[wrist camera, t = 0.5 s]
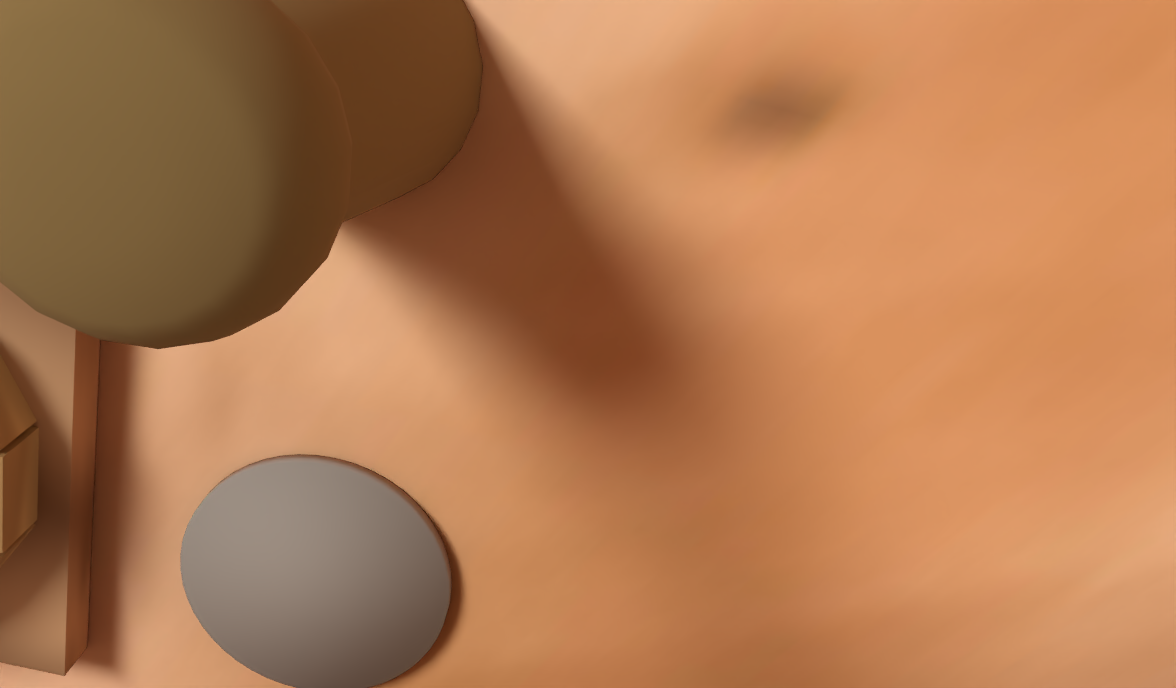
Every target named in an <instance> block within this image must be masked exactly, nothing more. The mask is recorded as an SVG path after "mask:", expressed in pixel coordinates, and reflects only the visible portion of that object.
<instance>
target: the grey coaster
mask: <svg viewBox="0 0 1176 688" xmlns="http://www.w3.org/2000/svg"><path fill="white" fill-rule="evenodd" d="M181 574H182V581H183V586H184V589H185V592H186V596H187V599H188V601H189V603H190V605H191V607H192V610H193V612H194V614H195V615H196V617H197V618H198V620H199V622H200V623H201V625H202V626H203V628H204V629H205V630H206V631H207V633H208V634H209V635H210V636H211V638H212V639H213V640H214V641H215V642H216V643H217V644H218V645H219V646H220V647H221V648H222V649H223V650H224V651H225V652H227V653H228V654H229V655H230V656H232V657H233V658H234V659H235V660H237V661H238V662H240V663H241V664H243V665H244V666H246V667H247V668H249V669H251V670H252V671H254V672H256V673H258V674H260V675H262V676H264V677H266V678H269V679H271V680H274V681H277V682H279V683H282V684H285V685H289V686H293V687H296V688H369V687H372V686H375V685H379V684H382V683H384V682H386V681H389V680H391V679H393V678H395V677H397V676H399V675H400V674H402V673H404V672H405V671H407V670H409V669H410V668H411V667H412V666H413V665H415V664H416V663H417V662H418V661H420V659H421V658H422V657H423V656H424V655H425V654H426V653H427V652H428V651H429V650H430V648H431V647H432V645H433V644H434V642H435V641H436V639H437V638H438V635H439V633H440V631H441V629H442V627H443V624H444V621H445V618H446V614H447V611H448V607H449V604H450V598H451V590H452V581H451V569H450V564H449V558H448V555H447V552H446V549H445V546H444V544H443V541H442V539H441V537H440V535H439V533H438V531H437V529H436V528H435V526H434V525H433V523H432V522H431V520H430V519H429V517H428V516H427V514H426V513H425V512H424V511H423V510H422V509H421V508H420V506H419V505H418V504H417V503H416V502H415V501H414V500H413V499H412V498H411V497H410V496H408V495H407V494H406V493H405V492H404V491H403V490H402V489H400V488H399V487H397V486H396V485H395V484H393V483H392V482H390V481H389V480H387V479H386V478H384V477H382V476H380V475H378V474H377V473H375V472H373V471H371V470H369V469H366V468H364V467H361V466H359V465H356V464H354V463H351V462H347V461H344V460H340V459H336V458H331V457H325V456H319V455H300V454H298V455H285V456H278V457H273V458H268V459H264V460H261V461H258V462H255V463H252V464H249V465H247V466H245V467H243V468H241V469H239V470H237V471H235V472H233V473H232V474H230V475H229V476H228V477H226V478H225V479H223V480H222V481H221V482H220V483H219V484H218V485H216V486H215V487H214V488H213V489H212V490H211V491H210V492H209V494H208V495H207V496H206V497H205V499H204V500H203V501H202V503H201V504H200V505H199V507H198V508H197V509H196V511H195V512H194V514H193V516H192V518H191V520H190V522H189V523H188V525H187V528H186V531H185V534H184V537H183V542H182V548H181Z"/></svg>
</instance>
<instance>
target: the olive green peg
mask: <svg viewBox="0 0 1176 688" xmlns="http://www.w3.org/2000/svg"><path fill="white" fill-rule="evenodd" d="M482 69H483V64H482V59H481V55H480V50H479V45H478V40H477V35H476V30H475V25H474V20H473V18H472V17H471V15H470V13H469V11H468V9H467V7H466V5H465V4H464V2H463V0H0V282H1V283H2V284H3V285H4V286H6V287H7V288H8V289H9V290H11V291H12V292H13V293H14V294H15V295H17V296H18V297H19V298H20V299H22V300H23V301H24V302H25V303H27V304H28V305H29V306H30V307H32V308H33V309H34V310H35V311H37V312H39V313H41V314H43V315H45V316H47V317H50V318H52V319H54V320H56V321H58V322H61V323H63V324H65V325H67V326H69V327H72V328H74V329H76V330H78V331H80V332H83V333H85V334H87V335H90V336H92V337H95V338H98V339H100V340H104V341H111V342H117V343H124V344H130V345H136V346H143V347H149V348H156V349H161V348H168V347H175V346H182V345H189V344H196V343H203V342H210V341H214V340H217V339H221V338H224V337H227V336H230V335H233V334H235V333H236V332H238V331H240V330H242V329H244V328H246V327H248V326H250V325H252V324H254V323H256V322H258V321H260V320H262V319H264V318H266V317H268V316H270V315H272V314H273V313H275V312H277V311H279V310H280V309H281V308H282V307H283V306H284V305H285V304H286V303H287V301H288V300H289V299H290V298H291V297H292V296H293V295H294V294H295V293H296V292H297V291H298V290H299V288H300V287H301V286H302V285H303V284H304V283H305V282H306V281H307V280H308V279H309V278H310V276H311V275H312V274H313V273H314V272H315V271H316V270H317V269H318V268H319V267H320V265H321V264H322V263H323V262H324V261H325V260H326V259H327V258H328V255H329V253H330V250H331V248H332V245H333V243H334V241H335V238H336V236H337V233H338V231H339V229H340V226H341V224H342V222H344V221H346V220H349V219H351V218H353V217H355V216H358V215H360V214H362V213H364V212H367V211H369V210H371V209H373V208H376V207H378V206H380V205H382V204H385V203H387V202H389V201H391V200H394V199H396V198H398V197H400V196H402V195H404V194H406V193H407V192H409V191H411V190H413V189H415V188H417V187H419V186H421V185H423V184H425V183H426V182H428V181H430V180H432V179H433V178H434V177H435V176H436V175H437V174H438V173H439V172H440V171H441V170H442V169H443V168H444V167H445V166H446V165H447V163H448V162H449V161H450V160H451V159H452V158H453V157H454V156H455V155H456V154H457V153H458V152H459V151H460V150H461V148H462V146H463V143H464V141H465V139H466V137H467V134H468V132H469V130H470V128H471V125H472V123H473V121H474V119H475V116H476V114H477V112H478V108H479V98H480V89H481V79H482Z"/></svg>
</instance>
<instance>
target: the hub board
mask: <svg viewBox="0 0 1176 688" xmlns="http://www.w3.org/2000/svg"><path fill="white" fill-rule="evenodd" d="M99 352H100V339H98V338H95V337H92V336H90V335H87V334H85V333H83V332H80V331H78V330H76V329H74V328H72V327H69V326H67V325H65V324H63V323H61V322H58V321H56V320H54V319H52V318H50V317H47V316H45V315H43V314H41V313H39V312H37V311H35V310H34V309H33V308H32V307H30V306H29V305H28V304H27V303H25V302H24V301H23V300H22V299H20V298H19V297H18V296H17V295H15V294H14V293H13V292H12V291H11V290H9V289H8V288H7V287H6V286H4V285H3V284H2V283H1V282H0V662H1V663H6V664H11V665H15V666H20V667H25V668H30V669H34V670H39V671H44V672H48V673H53V674H58V675H63V676H65V675H66V673H67V672H68V671H69V669H70V668H71V667H72V666H73V664H74V663H75V662H76V661H77V659H78V658H79V657H80V655H81V654H82V653H83V652H84V650H85V649H86V648H87V639H88V615H89V591H90V568H91V544H92V520H93V496H94V472H95V448H96V424H97V400H98V376H99Z"/></svg>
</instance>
